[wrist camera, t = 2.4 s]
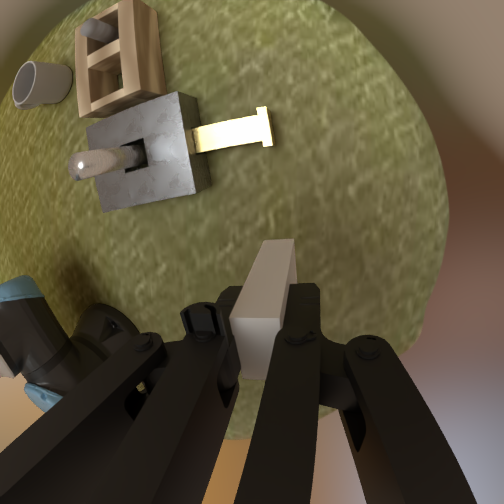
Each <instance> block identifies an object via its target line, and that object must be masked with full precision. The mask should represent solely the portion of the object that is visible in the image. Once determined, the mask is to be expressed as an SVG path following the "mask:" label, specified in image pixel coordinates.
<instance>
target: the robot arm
mask: <svg viewBox="0 0 504 504" xmlns="http://www.w3.org/2000/svg"><path fill="white" fill-rule="evenodd" d="M180 315H181V318H182V321H183V325H184V328H185V331H186V335H185V337H184V339H183V340H180V341H174V342H167V343H163V340H162V338H161V336H160V335H159V334H157V333H153V332H146V333H141V334H139V332H138V331H137V329H136V328H135V326H134V325H133V324H132V323H131V322H130V321H129V320H128V319H127V318H126V317H125V316H124V315H123V314H122V313H120V312H119V311H117V310H116V309H114V308H112V307H110V306H107V305H104V304H93V305H91V306H90V307H89V308H87V309H86V310H85V311H84V312H83V314H82V315H81V317H80V320H79V322H78V324H77V326H76V328H75V330H74V333H73V335H72V336H71V337H70V338H69V337H68V336H67V334H66V333H65V331H64V330H63V328H62V326H61V325H60V323H59V322H58V320H57V319H56V317H55V315H54V314H53V312H52V310H51V309H50V307H49V305H48V304H47V302H46V300H45V298H44V295H43V294H42V293H41V291H40V290H39V288H38V286H37V285H36V283H35V281H34V280H33V279H32V278H31V277H30V276H27V275H22V276H19V277H16V278H14V279H11V280H9V281H7V282H5V283H3V284H1V285H0V377H9V378H14V377H15V376H16V375H18V374H19V373H20V372H21V374H22V375H23V376H24V378H25V379H26V380H27V383H26V384H25V387H24V391H25V393H26V394H27V395H28V397H29V398H30V400H31V401H32V402H33V403H34V404H35V405H36V406H38V407H39V408H40V409H41V410H42V411H43V412H45V414H43V415H42V416H41V417H40V418H39V419H38V420H37V421H36V422H34V423H33V424H32V425H31V426H30V427H29V428H28V429H27V430H25V431H24V432H23V433H22V434H21V435H20V436H19V437H18V438H16V439H15V440H14V441H13V442H12V443H11V444H10V445H9V446H8V447H6V449H4V450H3V451H2V452H1V453H0V504H202V501H203V498H204V495H205V492H206V489H207V486H208V484H209V481H210V478H211V475H212V472H213V469H214V466H215V463H216V460H217V457H218V454H219V451H220V448H221V445H222V442H223V439H224V436H225V433H226V430H227V427H228V424H229V421H230V417H231V414H232V411H233V408H234V405H235V402H236V399H237V395H238V392H239V382H238V375H239V372H240V369H241V373H242V377H243V379H255V380H266V381H265V386H264V390H263V394H262V398H261V403H260V407H259V411H258V415H257V419H256V423H255V427H254V431H253V435H252V439H251V443H250V446H249V450H248V454H247V458H246V462H245V465H244V469H243V473H242V476H241V480H240V483H239V487H238V490H237V494H236V497H235V500H234V504H310V498H311V490H312V482H313V473H314V463H315V453H316V441H317V427H318V411H319V404H320V405H324V406H328V407H332V408H336V409H338V411H339V414H340V417H341V420H342V424H343V427H344V430H345V433H346V436H347V439H348V443H349V446H350V449H351V452H352V456H353V459H354V462H355V465H356V468H357V472H358V475H359V479H360V482H361V485H362V489H363V493H364V496H365V500H366V503H367V504H477V502H476V500H475V498H474V495H473V493H472V491H471V488H470V486H469V484H468V482H467V480H466V478H465V476H464V474H463V472H462V469H461V467H460V465H459V463H458V461H457V459H456V457H455V455H454V453H453V452H452V449H451V448H450V446H449V444H448V442H447V440H446V438H445V436H444V434H443V433H442V431H441V429H440V427H439V425H438V423H437V422H436V420H435V418H434V416H433V414H432V413H431V411H430V409H429V407H428V406H427V404H426V402H425V401H424V399H423V397H422V396H421V394H420V392H419V391H418V389H417V387H416V386H415V384H414V382H413V381H412V379H411V377H410V376H409V374H408V372H407V371H406V369H405V368H404V366H403V364H402V363H401V361H400V360H399V358H398V356H397V355H396V353H395V352H394V350H393V349H392V347H391V346H390V344H389V343H388V342H387V341H386V340H385V339H383V338H380V337H378V336H374V335H361V336H358V337H355V338H353V339H352V340H350V341H349V342H348V343H347V345H344V344H339V343H335V342H332V341H330V340H328V339H327V338H326V337H325V336H324V335H323V334H322V332H321V328H320V289H319V288H318V287H317V285H316V284H315V283H299V284H297V273H296V260H295V247H294V239H279V240H264V241H263V244H262V246H261V248H260V250H259V252H258V255H257V257H256V259H255V261H254V264H253V266H252V268H251V270H250V272H249V275H248V277H247V279H246V281H245V284H244V286H229V287H228V288H227V289H225V290H224V291H223V292H221V294H220V296H219V298H218V301H216V303H211V302H199V303H195V304H192V305H190V306H188V307H186V308H184V309H183V310H182V311H181V312H180ZM141 382H142V384H143V385H144V387H145V389H144V390H142V391H138V389H137V388H136V387H137V386H138V385H139V384H140V383H141Z"/></svg>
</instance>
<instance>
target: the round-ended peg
mask: <svg viewBox="0 0 504 504" xmlns="http://www.w3.org/2000/svg"><path fill="white" fill-rule="evenodd" d="M144 164H148V159H147V154H146V149H145V144H142V145H131V146H122V147H113V148H105V149H97V150H90V151H84V152H78V153H74V154H73V155H72V156H71V158H70V160H69V164H68V169H69V173H70V175H71V177H72V178H73V179H74V180H77V181H79V180H83V179H86V178H90V177H93V176H97V175H101V174H105V173H109V172H113V171H117V170H121V169H126V168H130V167H134V166H139V165H144Z"/></svg>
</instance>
